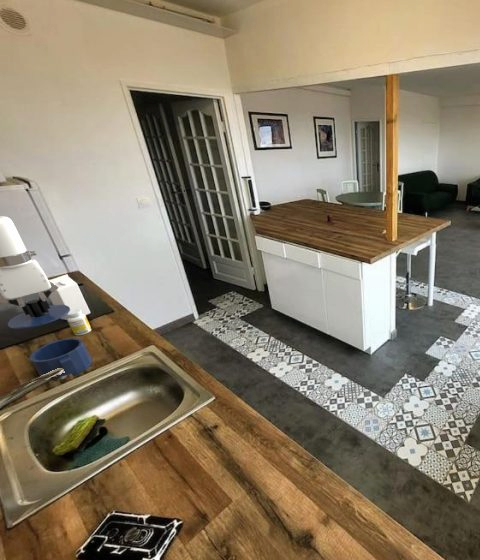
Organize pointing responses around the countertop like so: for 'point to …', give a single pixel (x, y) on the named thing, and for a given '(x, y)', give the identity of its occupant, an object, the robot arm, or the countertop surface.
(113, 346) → the countertop surface
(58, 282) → the milk carton
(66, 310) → the pot lid
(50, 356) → the pot
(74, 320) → the supplement bottle
